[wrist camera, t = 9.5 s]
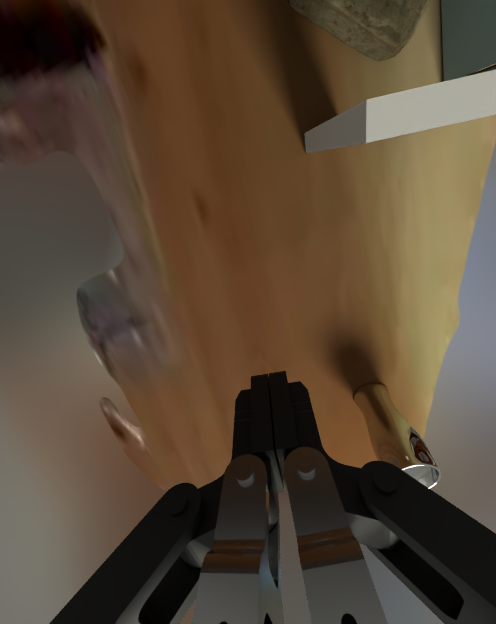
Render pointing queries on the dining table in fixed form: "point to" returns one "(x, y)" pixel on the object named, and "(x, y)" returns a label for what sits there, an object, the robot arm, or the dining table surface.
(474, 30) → the door
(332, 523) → the robot arm
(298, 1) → the stone block
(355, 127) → the door frame
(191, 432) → the dining table surface
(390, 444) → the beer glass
